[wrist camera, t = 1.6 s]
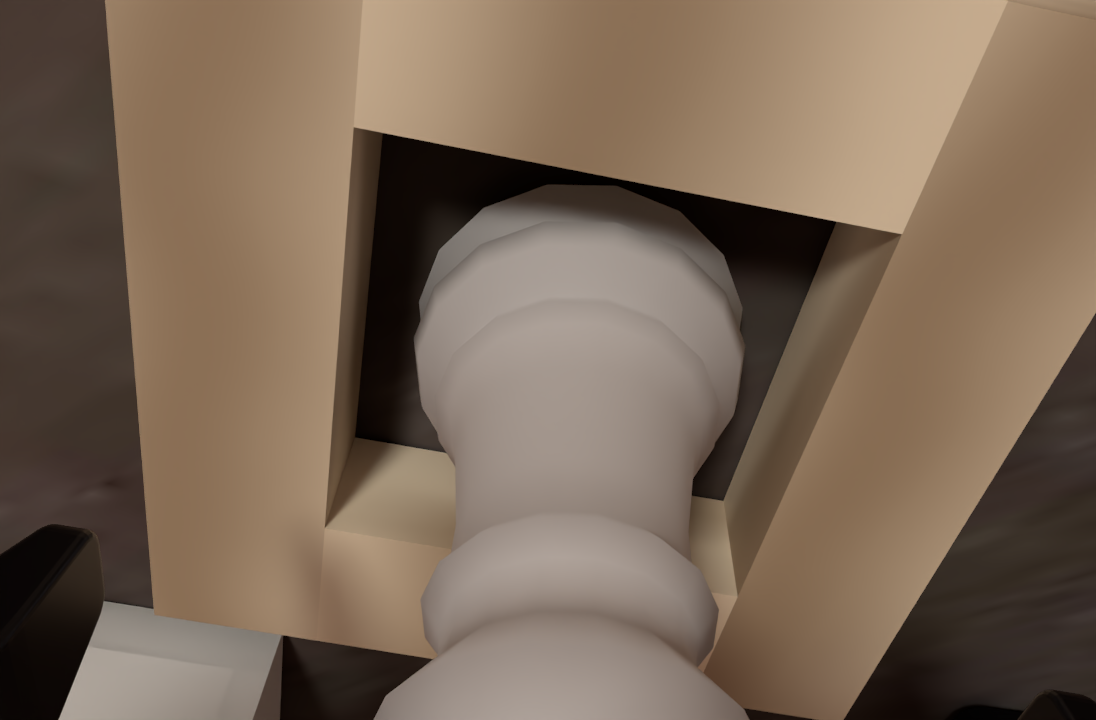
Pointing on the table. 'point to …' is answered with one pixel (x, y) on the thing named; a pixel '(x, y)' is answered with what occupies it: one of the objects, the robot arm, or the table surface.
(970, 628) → the table surface
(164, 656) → the tray
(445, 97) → the socket block
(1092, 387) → the table surface
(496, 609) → the rook chess piece
